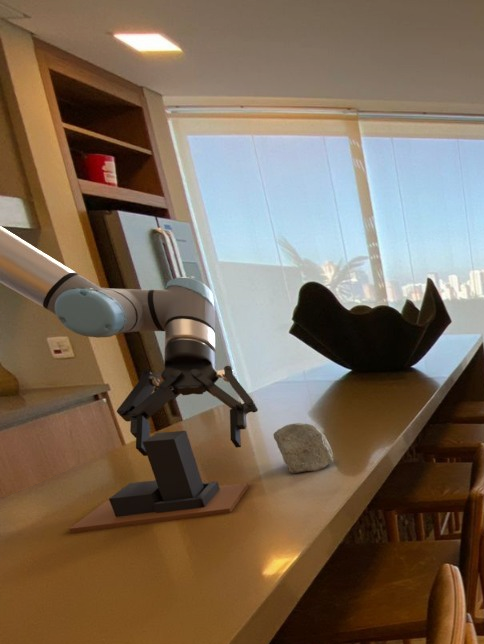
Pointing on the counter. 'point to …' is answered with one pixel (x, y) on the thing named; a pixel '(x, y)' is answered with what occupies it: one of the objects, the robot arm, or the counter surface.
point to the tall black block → (174, 465)
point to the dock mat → (159, 506)
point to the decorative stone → (303, 447)
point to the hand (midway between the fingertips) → (190, 447)
